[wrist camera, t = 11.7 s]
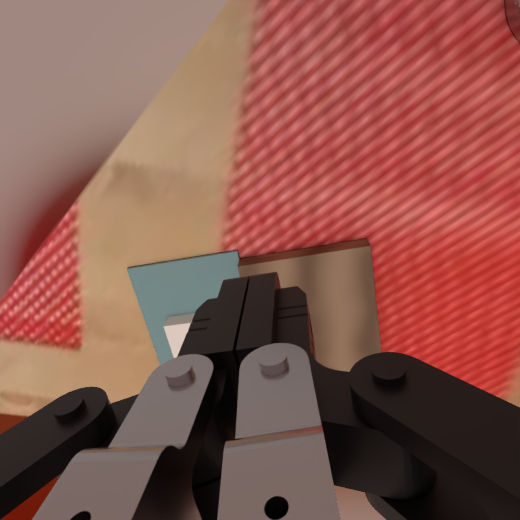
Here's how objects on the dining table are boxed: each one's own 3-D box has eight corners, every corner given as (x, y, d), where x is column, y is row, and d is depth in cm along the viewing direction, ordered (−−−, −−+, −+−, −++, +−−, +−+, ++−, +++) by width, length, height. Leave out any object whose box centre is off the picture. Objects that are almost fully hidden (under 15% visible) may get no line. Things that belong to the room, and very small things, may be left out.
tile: (247, 305, 44) (246, 315, 43) (258, 351, 47) (257, 362, 45) (168, 316, 46) (163, 326, 44) (182, 360, 48) (178, 371, 46)
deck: (366, 238, 41) (370, 245, 39) (380, 368, 47) (384, 380, 45) (239, 258, 43) (237, 266, 41) (268, 381, 49) (267, 393, 47)
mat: (237, 249, 42) (237, 251, 42) (269, 388, 49) (269, 390, 49) (128, 267, 44) (126, 269, 44) (174, 399, 51) (173, 401, 50)
